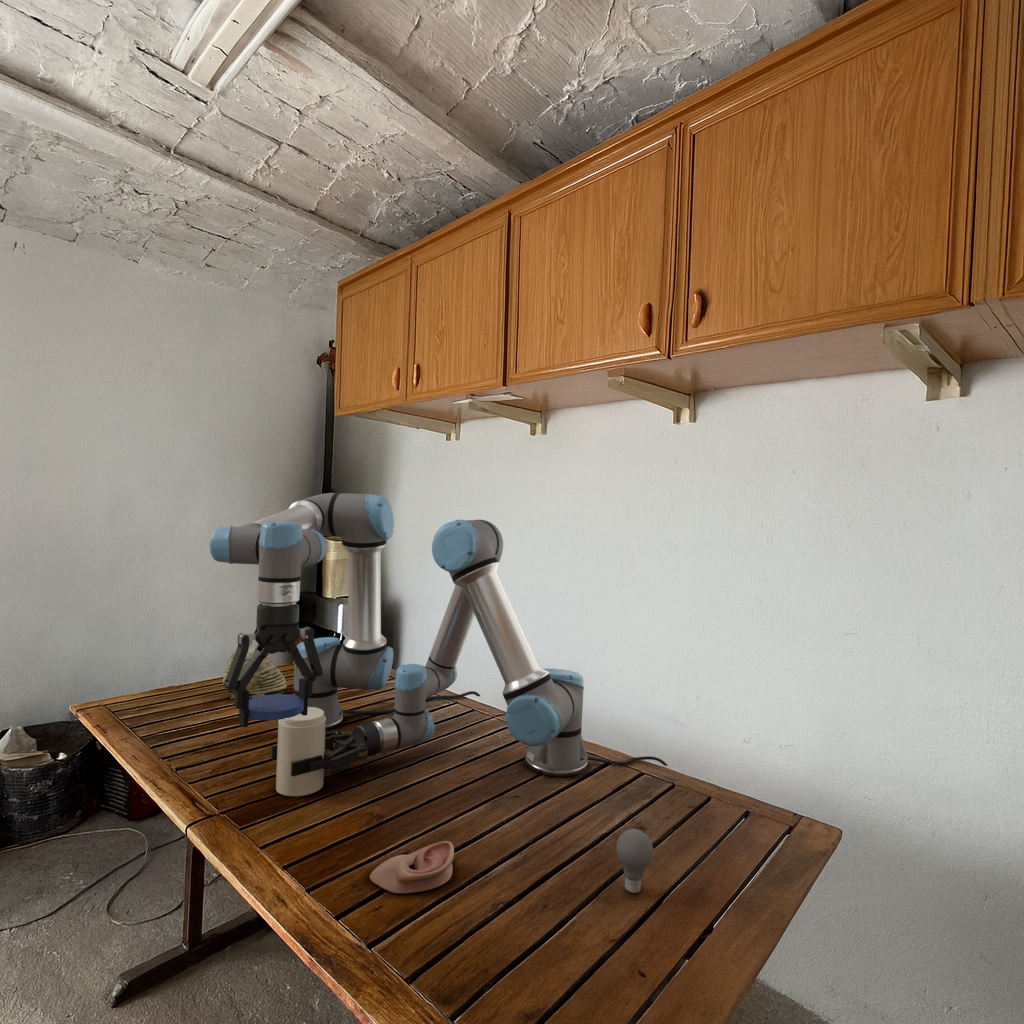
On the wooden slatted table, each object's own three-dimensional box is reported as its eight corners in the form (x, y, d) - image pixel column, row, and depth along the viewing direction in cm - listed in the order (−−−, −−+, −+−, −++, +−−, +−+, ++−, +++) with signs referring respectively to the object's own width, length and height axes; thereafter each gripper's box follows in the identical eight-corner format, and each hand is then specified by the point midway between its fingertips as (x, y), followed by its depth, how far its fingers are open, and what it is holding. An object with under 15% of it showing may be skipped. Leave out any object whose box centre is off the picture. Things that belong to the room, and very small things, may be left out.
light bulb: (610, 879, 108) (613, 822, 108) (644, 879, 109) (647, 822, 109) (619, 902, 102) (622, 840, 102) (655, 901, 103) (658, 840, 103)
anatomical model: (362, 863, 103) (389, 828, 114) (361, 887, 103) (389, 850, 114) (440, 876, 100) (460, 839, 112) (439, 901, 101) (459, 861, 112)
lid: (249, 702, 124) (249, 694, 124) (306, 701, 126) (306, 693, 126) (238, 721, 114) (238, 712, 114) (300, 719, 116) (300, 711, 116)
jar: (311, 798, 133) (314, 723, 133) (266, 793, 134) (269, 719, 134) (330, 778, 143) (333, 708, 142) (289, 773, 144) (291, 704, 144)
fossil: (218, 695, 195) (220, 647, 195) (278, 685, 208) (279, 640, 207) (228, 703, 189) (230, 653, 188) (289, 692, 201) (290, 645, 201)
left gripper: (220, 610, 109) (215, 738, 109) (344, 601, 125) (339, 713, 125) (207, 604, 115) (202, 725, 115) (326, 596, 130) (322, 703, 131)
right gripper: (398, 770, 142) (303, 798, 127) (350, 739, 159) (261, 760, 144) (400, 737, 142) (304, 761, 127) (351, 709, 159) (262, 727, 144)
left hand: (273, 719), depth 120 cm, fingers closed on lid, 11 cm apart
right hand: (281, 761), depth 135 cm, fingers closed on jar, 10 cm apart
